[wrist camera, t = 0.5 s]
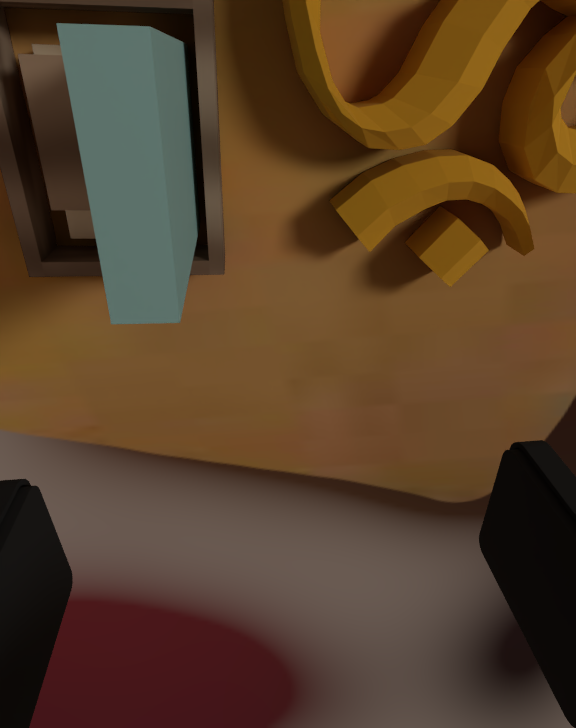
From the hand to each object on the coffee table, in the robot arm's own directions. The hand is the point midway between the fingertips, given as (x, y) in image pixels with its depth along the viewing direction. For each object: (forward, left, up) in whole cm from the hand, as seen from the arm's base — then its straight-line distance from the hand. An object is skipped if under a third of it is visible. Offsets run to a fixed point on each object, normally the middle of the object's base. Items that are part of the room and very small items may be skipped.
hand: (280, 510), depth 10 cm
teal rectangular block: (-3, -5, -29) cm, 30 cm away
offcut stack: (-3, -10, -29) cm, 31 cm away
